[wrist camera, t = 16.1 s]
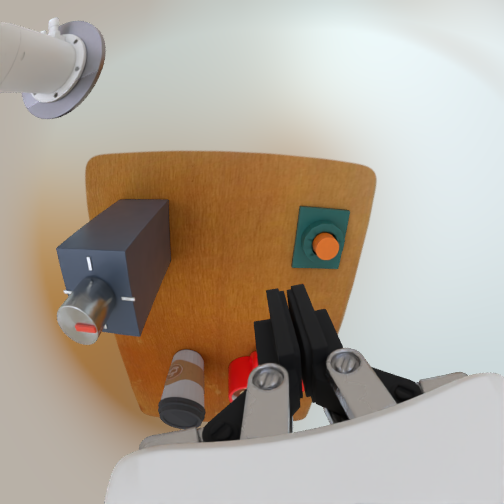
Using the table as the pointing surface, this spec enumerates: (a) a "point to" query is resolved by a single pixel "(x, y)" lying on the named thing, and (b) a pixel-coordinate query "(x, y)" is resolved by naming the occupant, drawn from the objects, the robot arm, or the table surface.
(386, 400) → the robot arm
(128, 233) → the tall knob tower
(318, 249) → the button
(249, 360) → the mug
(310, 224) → the push button base
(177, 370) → the coffee cup
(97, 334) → the dial
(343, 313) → the table surface
